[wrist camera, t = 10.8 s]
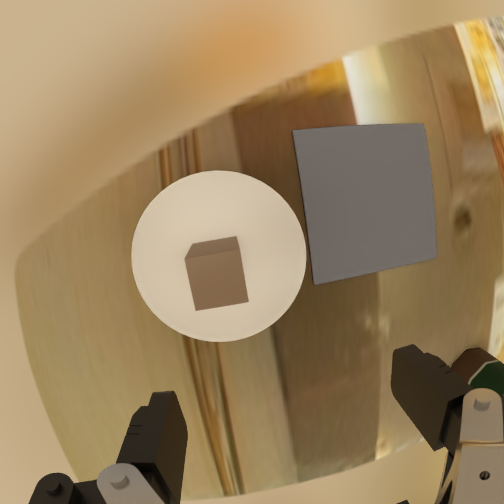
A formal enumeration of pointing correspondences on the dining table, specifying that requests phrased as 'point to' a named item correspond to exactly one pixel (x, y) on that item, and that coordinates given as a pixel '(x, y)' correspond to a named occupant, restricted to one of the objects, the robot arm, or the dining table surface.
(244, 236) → the lid
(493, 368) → the beer bottle
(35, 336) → the dining table surface
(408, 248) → the mat
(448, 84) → the dining table surface
